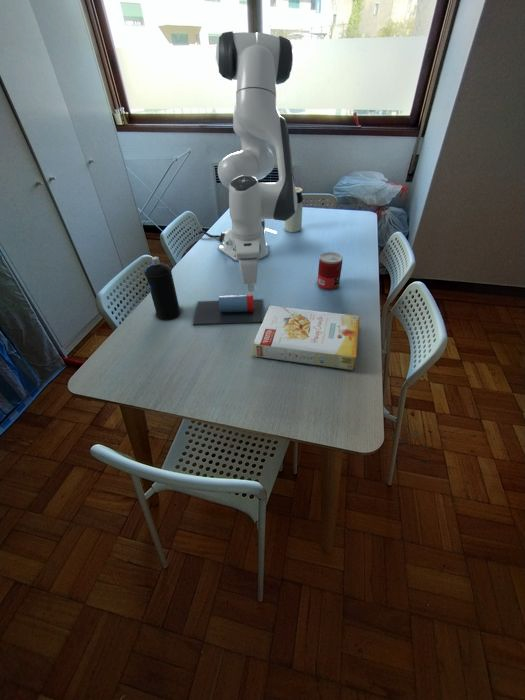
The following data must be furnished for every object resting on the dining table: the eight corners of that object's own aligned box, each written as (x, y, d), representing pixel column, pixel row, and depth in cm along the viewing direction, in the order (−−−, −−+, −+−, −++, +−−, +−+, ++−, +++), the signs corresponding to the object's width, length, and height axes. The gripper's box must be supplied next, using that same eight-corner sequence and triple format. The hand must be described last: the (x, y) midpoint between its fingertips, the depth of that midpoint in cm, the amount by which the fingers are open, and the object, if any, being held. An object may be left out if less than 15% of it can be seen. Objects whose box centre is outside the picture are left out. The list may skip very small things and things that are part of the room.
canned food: (338, 291, 124) (342, 262, 117) (316, 289, 126) (318, 261, 119) (339, 280, 130) (343, 252, 123) (317, 278, 131) (320, 251, 124)
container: (218, 301, 110) (253, 300, 110) (219, 292, 115) (253, 291, 114) (220, 316, 114) (253, 315, 114) (221, 306, 118) (253, 305, 118)
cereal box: (357, 357, 90) (252, 342, 95) (354, 372, 93) (252, 357, 99) (360, 313, 105) (268, 303, 110) (357, 328, 108) (268, 317, 114)
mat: (193, 325, 112) (193, 324, 111) (198, 302, 121) (198, 301, 121) (262, 323, 111) (262, 321, 111) (261, 300, 121) (261, 299, 121)
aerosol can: (185, 308, 119) (174, 253, 106) (173, 322, 113) (159, 266, 100) (164, 304, 121) (150, 250, 108) (151, 317, 115) (135, 262, 102)
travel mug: (301, 232, 164) (303, 192, 152) (285, 232, 165) (285, 192, 153) (300, 225, 170) (302, 186, 158) (284, 226, 171) (284, 187, 159)
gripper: (237, 226, 108) (241, 267, 117) (236, 255, 92) (240, 300, 101) (258, 225, 108) (260, 266, 117) (259, 254, 92) (262, 299, 101)
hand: (251, 282), depth 109 cm, fingers open, 8 cm apart
